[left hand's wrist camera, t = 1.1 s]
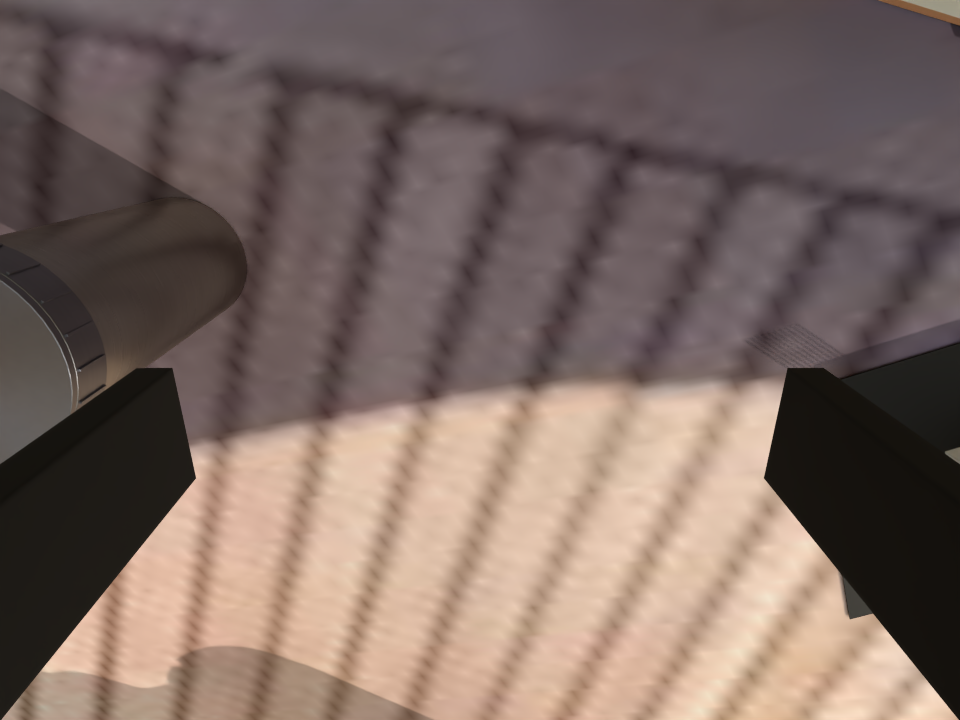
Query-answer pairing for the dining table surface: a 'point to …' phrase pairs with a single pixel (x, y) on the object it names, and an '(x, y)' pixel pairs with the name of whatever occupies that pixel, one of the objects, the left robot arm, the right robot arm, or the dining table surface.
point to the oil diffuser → (915, 409)
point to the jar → (143, 273)
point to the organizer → (932, 8)
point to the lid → (42, 352)
